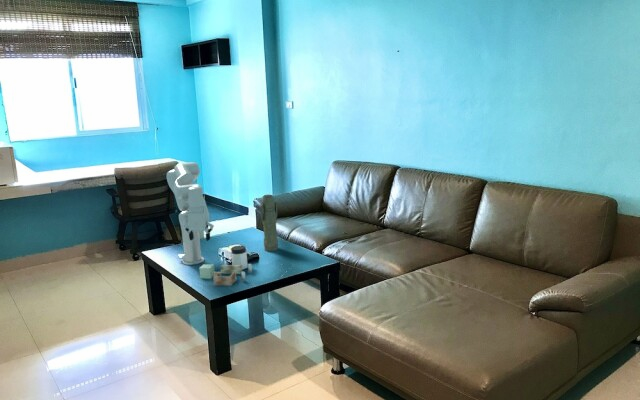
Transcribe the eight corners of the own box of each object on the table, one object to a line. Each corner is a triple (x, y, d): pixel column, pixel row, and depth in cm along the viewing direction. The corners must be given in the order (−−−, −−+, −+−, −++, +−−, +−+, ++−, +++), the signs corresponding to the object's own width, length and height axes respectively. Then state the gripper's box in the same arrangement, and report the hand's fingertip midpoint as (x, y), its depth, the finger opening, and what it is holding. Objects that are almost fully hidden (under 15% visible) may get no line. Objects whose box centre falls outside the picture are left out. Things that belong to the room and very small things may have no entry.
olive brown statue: (283, 248, 314) (279, 194, 306) (269, 253, 305) (265, 197, 298) (273, 245, 320) (269, 192, 312) (259, 250, 311) (255, 196, 303)
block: (200, 278, 269) (199, 268, 267) (204, 274, 275) (203, 264, 273) (210, 278, 268) (209, 268, 266) (214, 274, 274) (213, 264, 272)
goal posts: (241, 281, 261) (240, 272, 260) (249, 272, 274) (248, 263, 273) (245, 281, 261) (244, 273, 260) (252, 272, 274) (252, 263, 273)
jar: (241, 264, 288) (239, 244, 286) (250, 266, 283) (249, 246, 280) (229, 268, 282) (227, 248, 279) (238, 271, 276) (237, 251, 274)
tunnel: (209, 285, 258) (209, 277, 257) (221, 272, 276) (221, 264, 275) (231, 285, 256) (231, 277, 255) (242, 272, 274) (241, 265, 273)
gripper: (178, 211, 265) (182, 241, 269) (208, 211, 261) (211, 242, 265) (185, 207, 272) (188, 237, 276) (214, 208, 268) (217, 238, 272)
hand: (200, 239), depth 270 cm, fingers open, 9 cm apart
